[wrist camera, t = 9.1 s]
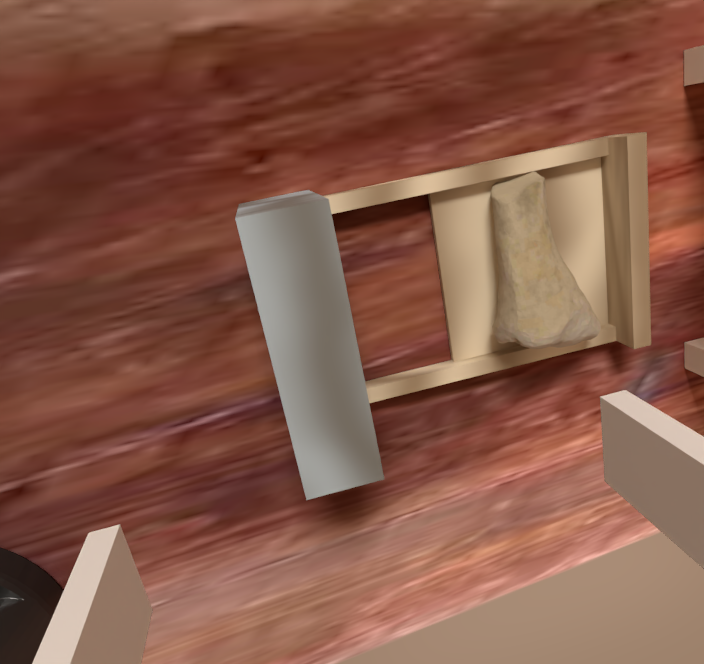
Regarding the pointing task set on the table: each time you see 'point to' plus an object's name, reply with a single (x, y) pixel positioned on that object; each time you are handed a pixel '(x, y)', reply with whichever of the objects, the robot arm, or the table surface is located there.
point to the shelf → (698, 68)
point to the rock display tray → (456, 284)
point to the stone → (534, 273)
